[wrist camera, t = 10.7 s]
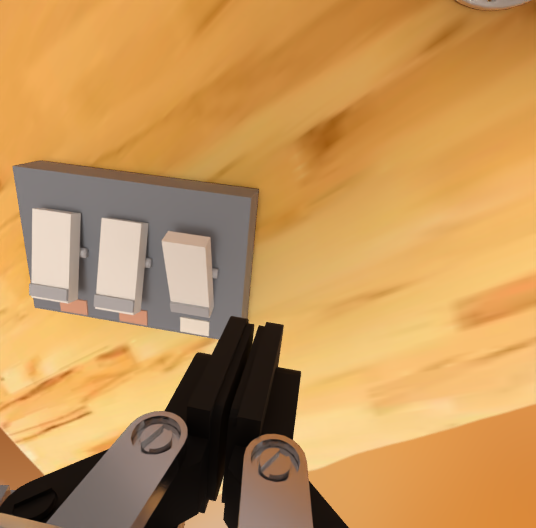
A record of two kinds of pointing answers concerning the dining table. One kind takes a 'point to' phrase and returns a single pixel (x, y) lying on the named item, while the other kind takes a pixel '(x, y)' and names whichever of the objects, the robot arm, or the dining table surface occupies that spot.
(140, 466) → the robot arm
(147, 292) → the switch unit
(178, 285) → the rocker
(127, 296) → the rocker
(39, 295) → the rocker
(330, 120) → the dining table surface
